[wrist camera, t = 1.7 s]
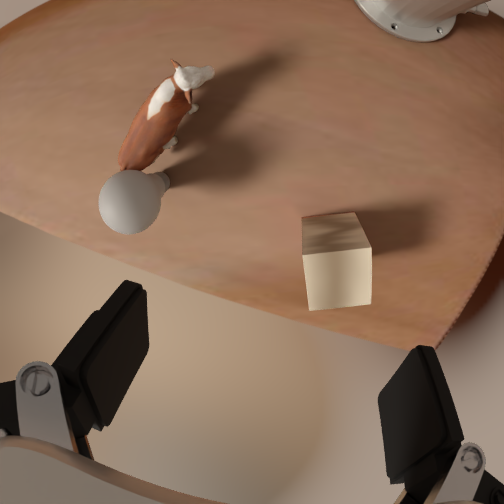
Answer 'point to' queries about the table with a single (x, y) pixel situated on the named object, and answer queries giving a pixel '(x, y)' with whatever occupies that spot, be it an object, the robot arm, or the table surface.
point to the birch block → (336, 261)
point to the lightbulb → (132, 200)
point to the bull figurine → (161, 117)
